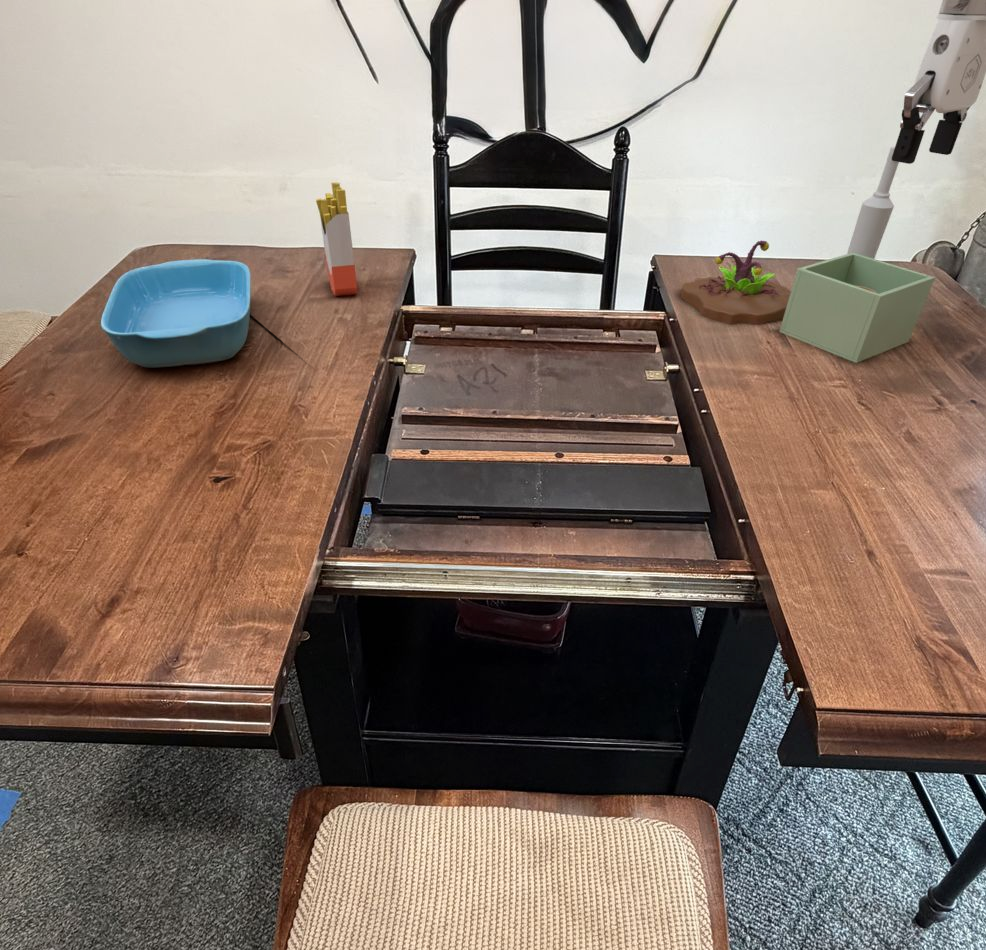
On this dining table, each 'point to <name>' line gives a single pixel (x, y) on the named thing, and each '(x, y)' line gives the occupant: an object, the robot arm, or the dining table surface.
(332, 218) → the french fries container
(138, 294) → the casserole dish
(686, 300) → the plant
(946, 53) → the robot arm
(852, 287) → the bin
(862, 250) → the bottle
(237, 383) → the dining table surface
